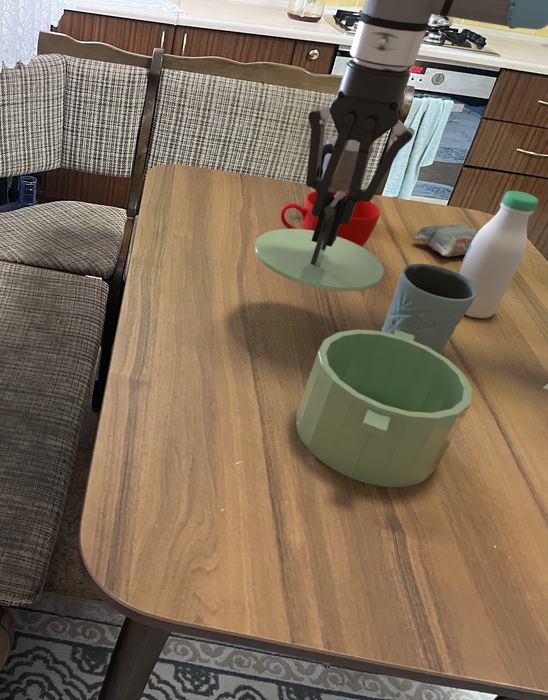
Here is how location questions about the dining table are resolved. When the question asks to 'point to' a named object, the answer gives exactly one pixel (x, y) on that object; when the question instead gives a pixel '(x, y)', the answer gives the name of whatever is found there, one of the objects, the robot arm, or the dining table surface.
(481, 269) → the milk bottle
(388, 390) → the pot
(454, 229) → the packaged food
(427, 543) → the dining table surface
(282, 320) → the dining table surface
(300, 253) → the lid
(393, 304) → the blue-grey cylindrical cup
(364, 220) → the ceramic cup
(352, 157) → the coffeepot
